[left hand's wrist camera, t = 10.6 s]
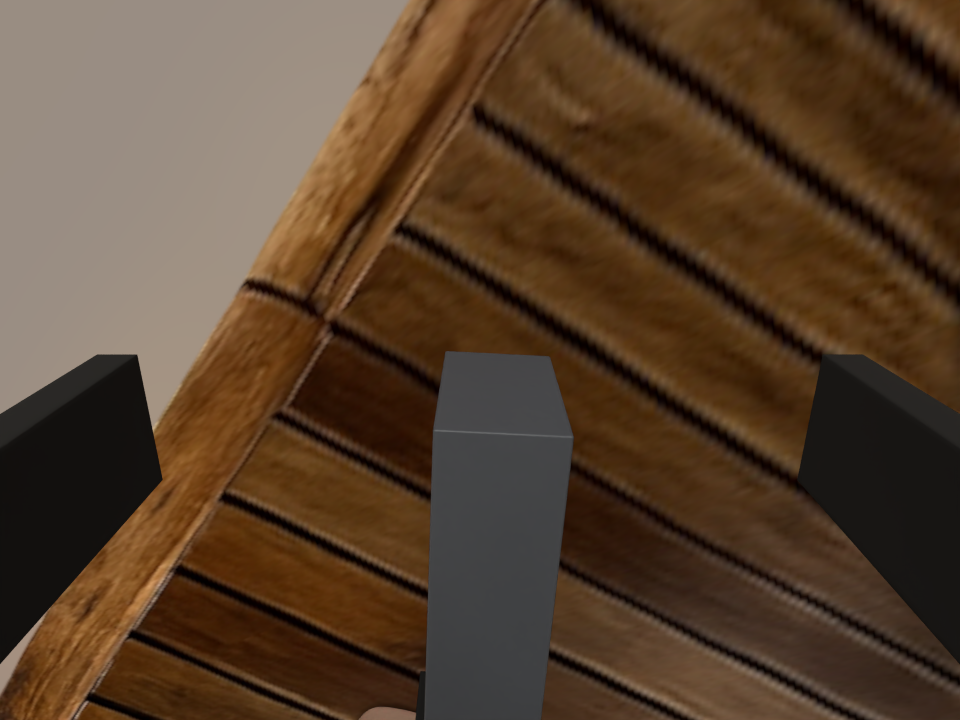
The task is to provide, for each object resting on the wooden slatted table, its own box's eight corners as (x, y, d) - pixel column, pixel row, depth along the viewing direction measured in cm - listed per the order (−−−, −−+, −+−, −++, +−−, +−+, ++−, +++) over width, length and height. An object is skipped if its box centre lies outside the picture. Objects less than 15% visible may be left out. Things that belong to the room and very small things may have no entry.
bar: (445, 350, 30) (432, 429, 23) (550, 356, 31) (574, 436, 23) (432, 720, 39) (419, 873, 31) (514, 724, 39) (522, 877, 31)
